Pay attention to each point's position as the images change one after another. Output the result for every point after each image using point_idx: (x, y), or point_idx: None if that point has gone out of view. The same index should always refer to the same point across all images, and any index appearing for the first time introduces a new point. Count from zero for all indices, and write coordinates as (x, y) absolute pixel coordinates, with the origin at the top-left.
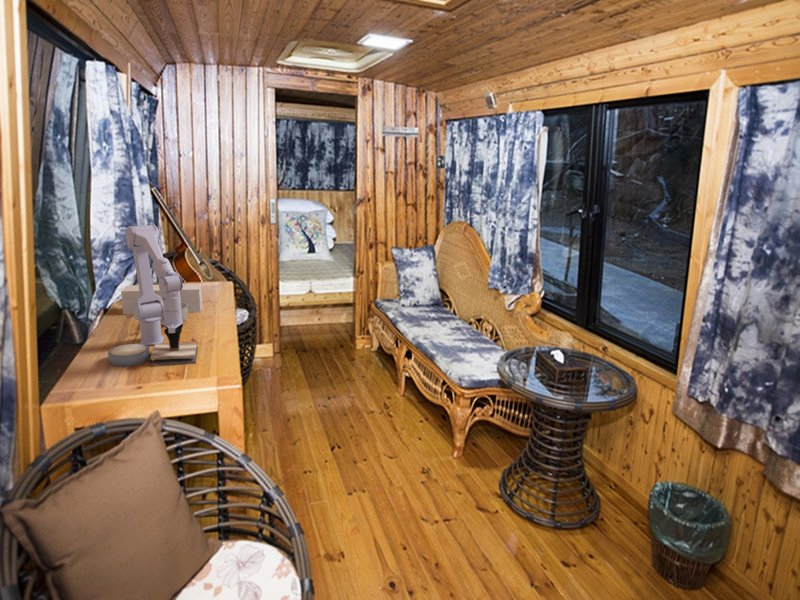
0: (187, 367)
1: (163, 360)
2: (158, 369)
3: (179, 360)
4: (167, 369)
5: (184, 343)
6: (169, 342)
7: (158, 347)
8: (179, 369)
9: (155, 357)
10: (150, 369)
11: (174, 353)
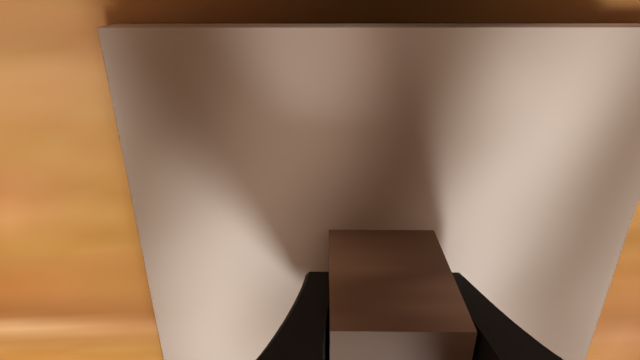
0: (83, 330)
1: None
2: (26, 109)
3: None
4: (30, 189)
5: (557, 347)
6: (329, 303)
7: (491, 90)
8: (35, 280)
9: (116, 88)
10: (22, 27)
11: (234, 280)
